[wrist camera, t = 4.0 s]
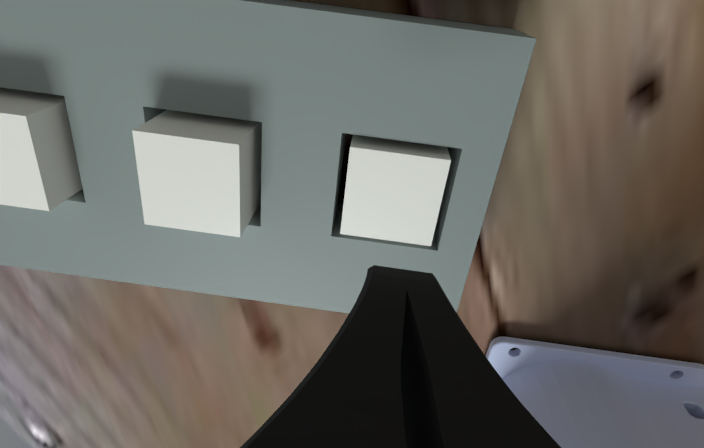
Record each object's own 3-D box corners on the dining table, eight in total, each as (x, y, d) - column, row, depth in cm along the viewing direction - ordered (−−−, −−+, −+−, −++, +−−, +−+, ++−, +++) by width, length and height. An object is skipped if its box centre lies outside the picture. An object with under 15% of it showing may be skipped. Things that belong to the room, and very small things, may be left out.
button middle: (261, 119, 15) (239, 144, 12) (260, 201, 16) (240, 237, 14) (170, 107, 15) (132, 130, 12) (178, 190, 16) (144, 224, 14)
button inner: (442, 134, 15) (451, 160, 13) (426, 211, 17) (431, 246, 15) (356, 122, 15) (349, 146, 13) (346, 200, 17) (340, 233, 15)
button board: (514, 29, 14) (536, 38, 12) (445, 286, 19) (452, 327, 17) (-56, -45, 14) (-137, -49, 12) (23, 228, 19) (-25, 261, 17)
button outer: (80, 95, 15) (25, 115, 12) (95, 179, 16) (49, 211, 14) (-10, 83, 15) (-80, 101, 12) (14, 168, 16) (-46, 198, 14)
